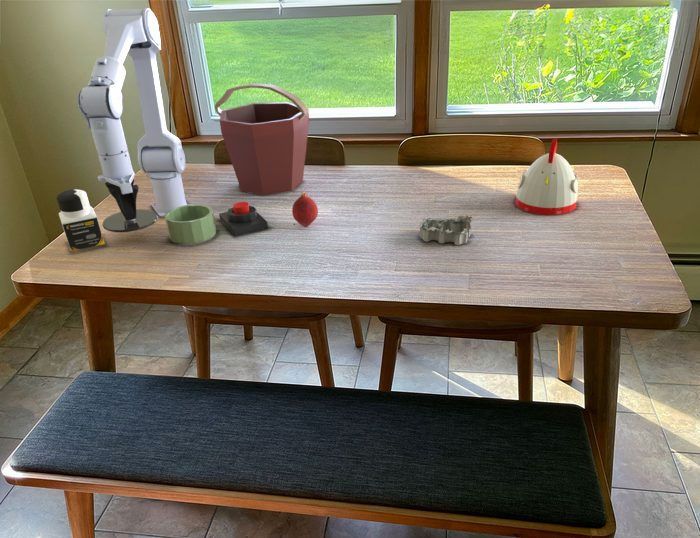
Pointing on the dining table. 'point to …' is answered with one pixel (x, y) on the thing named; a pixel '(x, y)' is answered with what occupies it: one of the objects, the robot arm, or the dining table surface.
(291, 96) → the bucket
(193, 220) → the pot
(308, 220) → the onion
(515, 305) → the dining table surface
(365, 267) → the dining table surface
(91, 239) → the medicine bottle
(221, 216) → the button housing
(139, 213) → the lid
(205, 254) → the dining table surface
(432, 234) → the egg carton
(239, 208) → the button
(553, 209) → the kitchen timer
